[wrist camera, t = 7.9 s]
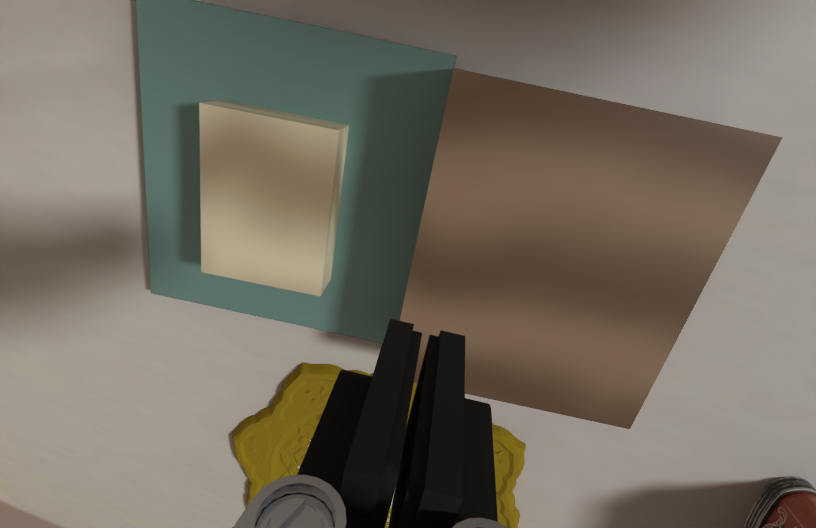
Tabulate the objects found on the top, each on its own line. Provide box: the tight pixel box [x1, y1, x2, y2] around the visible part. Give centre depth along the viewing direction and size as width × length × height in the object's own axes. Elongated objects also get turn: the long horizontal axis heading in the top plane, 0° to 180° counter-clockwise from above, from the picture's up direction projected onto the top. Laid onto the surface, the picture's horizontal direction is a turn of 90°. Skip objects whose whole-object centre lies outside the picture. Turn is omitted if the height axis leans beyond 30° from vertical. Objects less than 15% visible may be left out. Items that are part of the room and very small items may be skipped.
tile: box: [199, 100, 349, 296], centre depth 21 cm, size 8×6×2 cm
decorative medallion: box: [232, 363, 526, 528], centre depth 30 cm, size 20×20×1 cm
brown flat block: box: [400, 69, 782, 429], centre depth 21 cm, size 14×12×4 cm
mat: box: [136, 0, 456, 343], centre depth 22 cm, size 15×14×1 cm
